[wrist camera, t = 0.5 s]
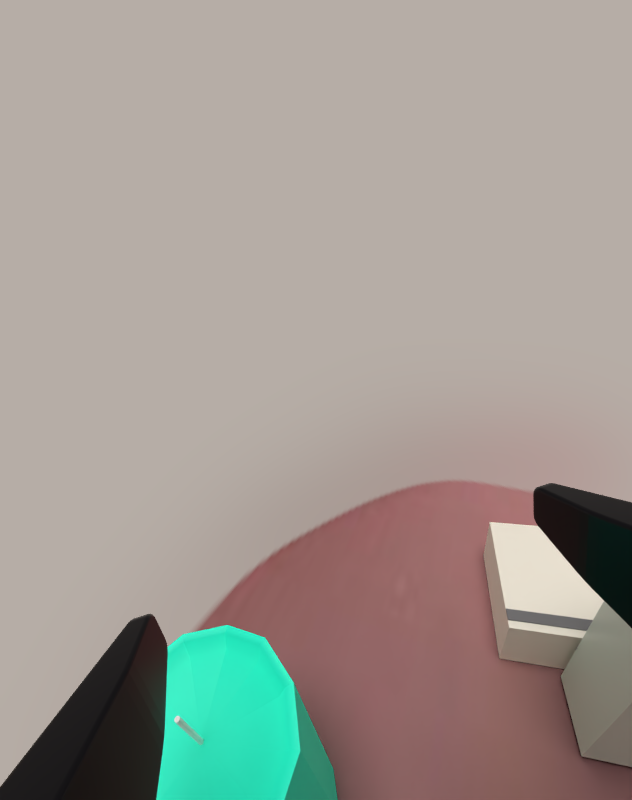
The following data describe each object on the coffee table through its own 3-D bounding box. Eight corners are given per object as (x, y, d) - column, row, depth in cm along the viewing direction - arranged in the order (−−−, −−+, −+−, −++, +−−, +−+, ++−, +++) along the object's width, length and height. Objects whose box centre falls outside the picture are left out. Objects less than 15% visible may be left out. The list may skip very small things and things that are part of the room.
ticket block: (735, 697, 17) (778, 665, 15) (499, 658, 20) (509, 626, 18) (667, 574, 22) (693, 537, 20) (483, 555, 25) (489, 521, 23)
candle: (268, 694, 20) (195, 570, 13) (366, 785, 17) (335, 680, 10) (177, 833, 16) (13, 758, 10) (279, 984, 13) (138, 1031, 6)
